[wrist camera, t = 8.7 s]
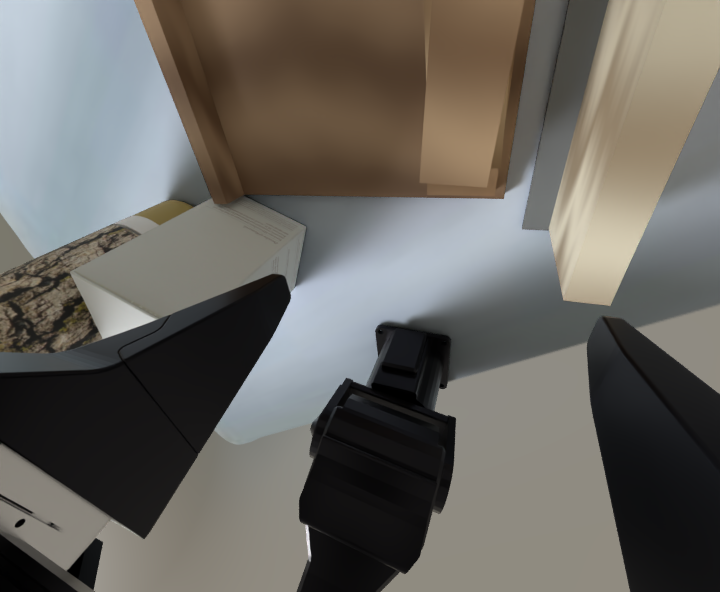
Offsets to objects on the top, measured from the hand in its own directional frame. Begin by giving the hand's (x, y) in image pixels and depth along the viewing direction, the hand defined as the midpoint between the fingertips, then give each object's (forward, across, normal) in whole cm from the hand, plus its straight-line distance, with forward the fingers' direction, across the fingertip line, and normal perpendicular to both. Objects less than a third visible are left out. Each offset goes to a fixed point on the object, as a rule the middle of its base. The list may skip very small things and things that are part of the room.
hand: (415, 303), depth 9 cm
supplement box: (+13, +16, +6) cm, 21 cm away
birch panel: (+12, -6, -3) cm, 14 cm away
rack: (+12, +7, -6) cm, 16 cm away
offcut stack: (+12, 0, -6) cm, 13 cm away
